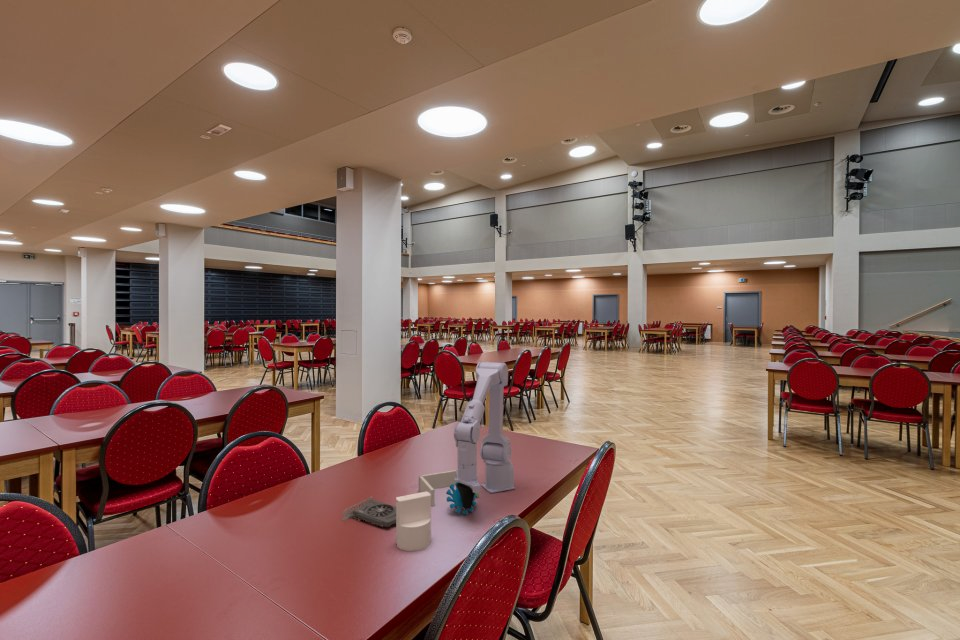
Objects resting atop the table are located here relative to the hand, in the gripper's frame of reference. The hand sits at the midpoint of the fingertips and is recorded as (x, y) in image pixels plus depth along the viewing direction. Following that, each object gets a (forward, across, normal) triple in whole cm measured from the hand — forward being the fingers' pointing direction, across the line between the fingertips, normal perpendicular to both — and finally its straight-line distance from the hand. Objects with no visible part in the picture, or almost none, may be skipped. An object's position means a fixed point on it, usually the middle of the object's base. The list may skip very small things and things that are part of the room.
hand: (467, 508), depth 130 cm
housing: (+2, -16, 0) cm, 16 cm away
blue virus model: (+2, -4, 0) cm, 4 cm away
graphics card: (+3, -8, -26) cm, 27 cm away
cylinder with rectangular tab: (+2, +9, -19) cm, 21 cm away
